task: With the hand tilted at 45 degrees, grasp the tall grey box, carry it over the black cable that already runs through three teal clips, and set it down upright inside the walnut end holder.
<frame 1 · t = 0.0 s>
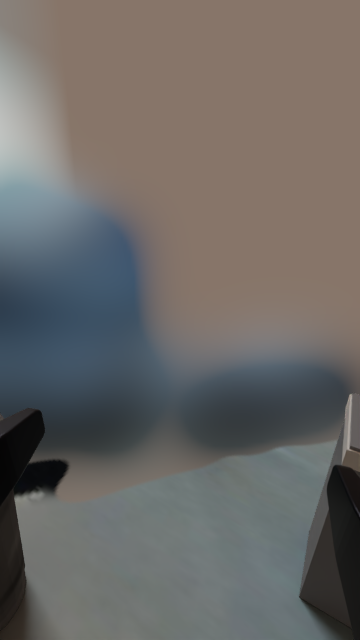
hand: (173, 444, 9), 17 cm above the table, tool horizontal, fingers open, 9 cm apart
tall grey box: (340, 581, 20), on the table
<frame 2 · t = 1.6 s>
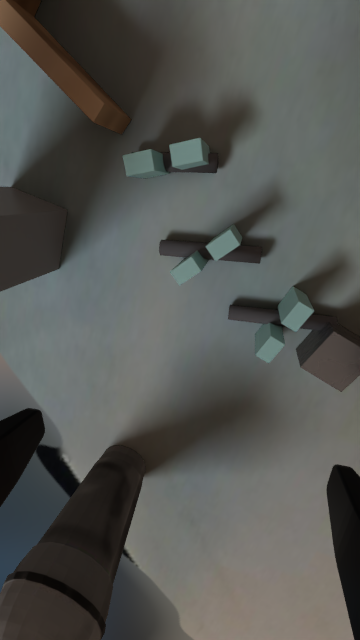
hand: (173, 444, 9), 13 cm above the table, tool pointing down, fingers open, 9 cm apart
beverage cup: (125, 461, 30), on the table
end holder: (115, 1, 16), on the table
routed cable: (236, 245, 18), on the table
brown grey short block: (328, 344, 20), on the table
tall grey box: (35, 229, 22), on the table
cable clips: (221, 256, 18), resting in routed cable
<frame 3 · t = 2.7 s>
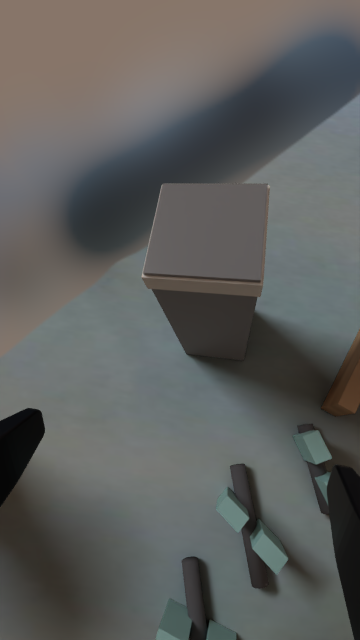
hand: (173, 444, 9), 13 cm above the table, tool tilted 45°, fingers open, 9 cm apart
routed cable: (262, 551, 18), on the table
tall grey box: (217, 330, 24), on the table
cable clips: (250, 542, 17), resting in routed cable
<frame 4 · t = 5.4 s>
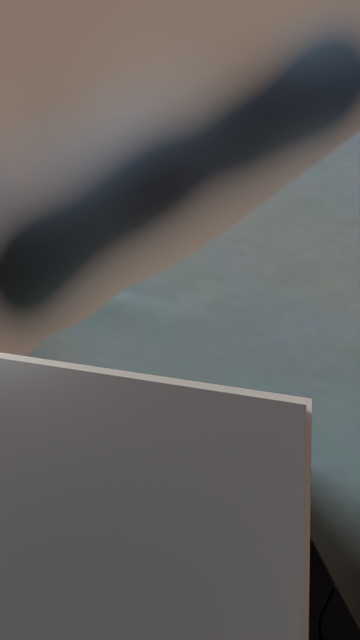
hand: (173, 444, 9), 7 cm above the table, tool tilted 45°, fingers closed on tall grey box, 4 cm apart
tall grey box: (189, 472, 15), on the table, touching gripper
when the fingers open (8 cm above the table, at t = 8.9 s): tall grey box drops 1 cm, resting in end holder.
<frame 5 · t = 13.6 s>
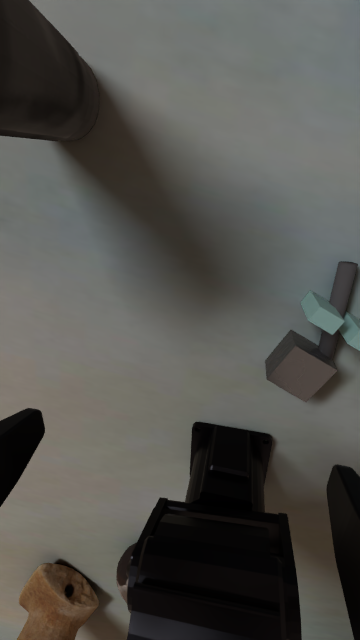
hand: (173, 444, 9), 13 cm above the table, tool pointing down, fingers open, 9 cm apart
beverage cup: (66, 98, 18), on the table
donut: (172, 561, 35), on the table
brown grey short block: (295, 356, 21), on the table
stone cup: (70, 588, 43), on the table
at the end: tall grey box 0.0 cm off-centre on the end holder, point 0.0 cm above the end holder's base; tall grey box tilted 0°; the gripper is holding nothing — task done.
